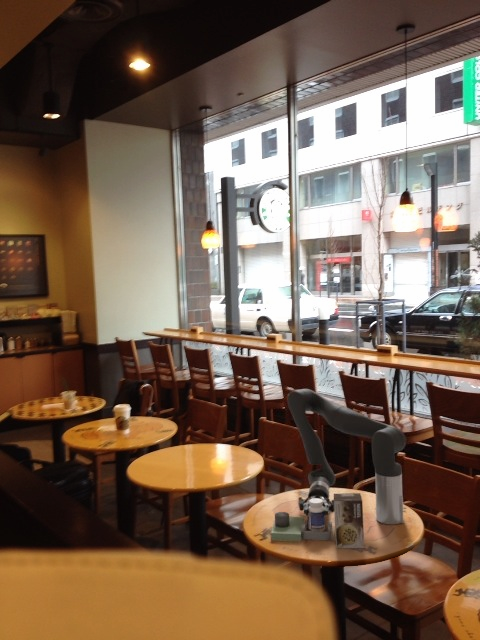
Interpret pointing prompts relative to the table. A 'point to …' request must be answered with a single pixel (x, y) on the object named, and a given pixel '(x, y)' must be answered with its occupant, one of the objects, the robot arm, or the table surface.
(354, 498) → the coffee box
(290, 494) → the table surface
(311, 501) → the pill bottle
